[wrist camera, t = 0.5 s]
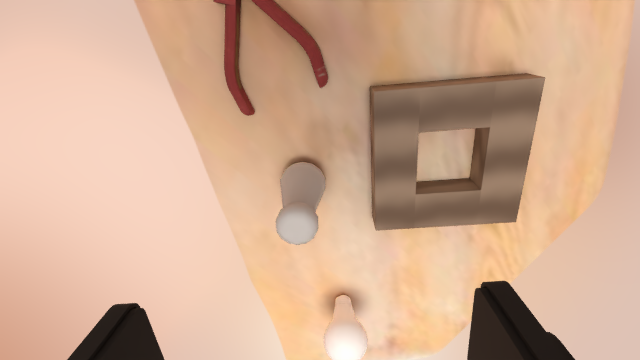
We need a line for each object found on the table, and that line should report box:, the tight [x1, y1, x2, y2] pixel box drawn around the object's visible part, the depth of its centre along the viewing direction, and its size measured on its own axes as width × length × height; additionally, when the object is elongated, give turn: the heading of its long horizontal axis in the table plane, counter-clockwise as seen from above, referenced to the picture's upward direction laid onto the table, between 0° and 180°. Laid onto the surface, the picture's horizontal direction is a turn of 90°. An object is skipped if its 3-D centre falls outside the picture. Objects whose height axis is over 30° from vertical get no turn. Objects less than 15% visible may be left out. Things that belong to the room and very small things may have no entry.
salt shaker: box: [276, 162, 325, 245], centre depth 37 cm, size 6×6×13 cm
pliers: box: [214, 0, 328, 115], centre depth 34 cm, size 12×20×3 cm, turn 21°
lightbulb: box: [324, 295, 368, 360], centre depth 47 cm, size 6×6×11 cm
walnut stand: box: [370, 73, 545, 230], centre depth 40 cm, size 18×18×4 cm
